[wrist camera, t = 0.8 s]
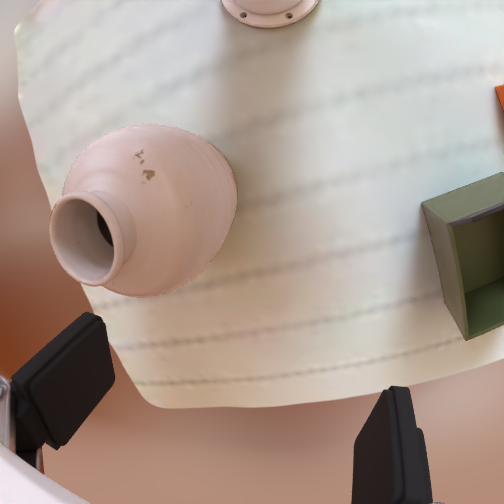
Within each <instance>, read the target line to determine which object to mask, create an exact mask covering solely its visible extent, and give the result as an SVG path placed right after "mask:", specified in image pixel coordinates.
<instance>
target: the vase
mask: <svg viewBox="0 0 504 504" xmlns="http://www.w3.org/2000/svg"><path fill="white" fill-rule="evenodd" d="M236 206H237V183H236V179H235V175H234V173H233V170H232V168H231V166H230V164H229V162H228V161H227V159H226V158H225V157H224V155H223V154H222V153H221V152H220V151H219V150H218V149H217V148H216V147H215V146H213V145H212V144H211V143H210V142H208V141H206V140H205V139H203V138H201V137H200V136H198V135H195V134H193V133H190V132H187V131H185V130H182V129H179V128H175V127H171V126H165V125H158V124H141V125H133V126H128V127H124V128H120V129H117V130H115V131H113V132H110V133H108V134H106V135H104V136H102V137H100V138H99V139H97V140H96V141H94V142H93V143H92V144H90V145H89V146H88V147H87V148H86V149H85V150H84V151H83V152H82V153H81V154H80V155H79V156H78V157H77V159H76V160H75V162H74V163H73V165H72V167H71V169H70V171H69V173H68V175H67V178H66V180H65V183H64V187H63V191H62V197H61V198H60V199H59V200H58V201H57V202H56V204H55V206H54V208H53V210H52V213H51V217H50V224H49V232H50V240H51V244H52V247H53V250H54V253H55V255H56V257H57V259H58V261H59V262H60V264H61V266H62V267H63V268H64V270H65V271H66V272H67V273H68V274H69V275H70V276H71V277H73V278H74V279H75V280H77V281H78V282H80V283H82V284H84V285H88V286H103V287H105V288H107V289H108V290H111V291H113V292H115V293H118V294H122V295H125V296H129V297H137V298H145V297H154V296H159V295H163V294H166V293H169V292H172V291H174V290H176V289H178V288H180V287H181V286H183V285H185V284H187V283H188V282H190V281H191V280H192V279H194V278H195V277H196V276H197V275H199V274H200V273H201V272H202V271H203V270H204V269H205V268H206V267H207V266H208V264H209V263H210V262H211V261H212V260H213V258H214V257H215V256H216V254H217V253H218V251H219V250H220V248H221V246H222V245H223V243H224V241H225V239H226V237H227V234H228V232H229V229H230V227H231V224H232V222H233V219H234V215H235V210H236Z"/></svg>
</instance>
